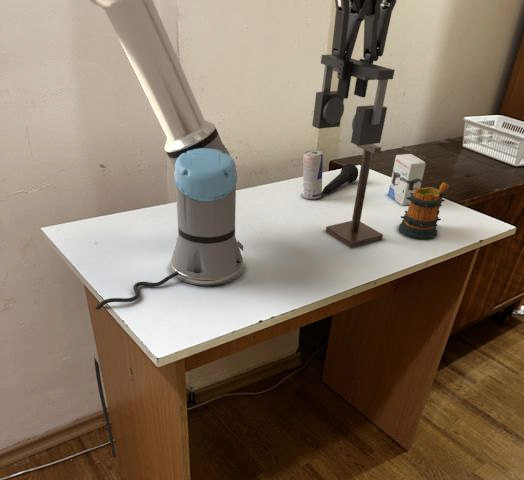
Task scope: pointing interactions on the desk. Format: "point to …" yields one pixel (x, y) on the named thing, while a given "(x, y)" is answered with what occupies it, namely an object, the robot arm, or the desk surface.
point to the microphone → (342, 178)
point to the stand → (358, 209)
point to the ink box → (406, 177)
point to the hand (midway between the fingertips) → (350, 96)
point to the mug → (423, 213)
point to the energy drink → (312, 174)
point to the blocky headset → (366, 117)
